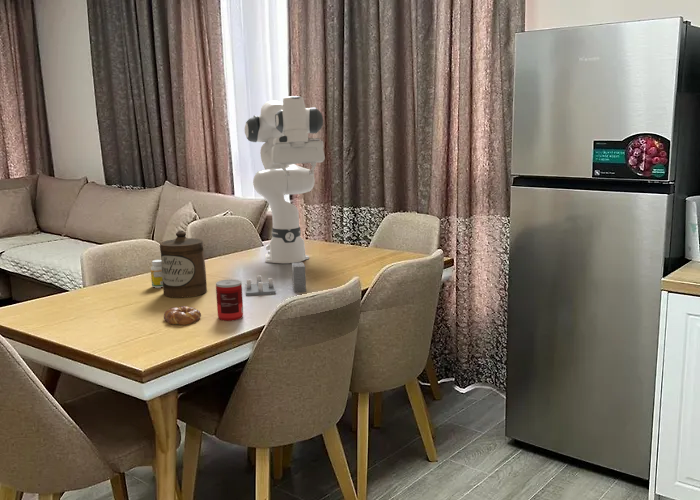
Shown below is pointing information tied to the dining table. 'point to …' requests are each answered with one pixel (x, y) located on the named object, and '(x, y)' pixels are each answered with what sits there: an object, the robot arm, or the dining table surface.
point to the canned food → (229, 299)
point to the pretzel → (182, 315)
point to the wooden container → (183, 267)
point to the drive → (298, 277)
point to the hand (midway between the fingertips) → (299, 175)
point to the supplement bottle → (156, 274)
